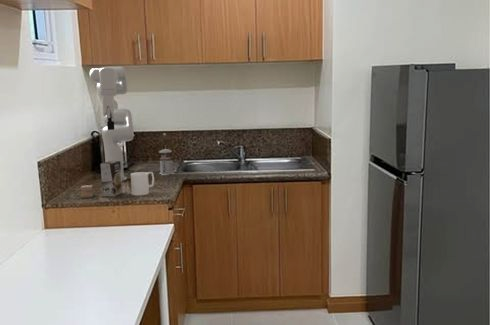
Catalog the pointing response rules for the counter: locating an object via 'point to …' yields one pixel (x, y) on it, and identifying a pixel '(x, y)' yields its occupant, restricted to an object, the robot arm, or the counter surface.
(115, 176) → the coffee box
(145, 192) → the cup
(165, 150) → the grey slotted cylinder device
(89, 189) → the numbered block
